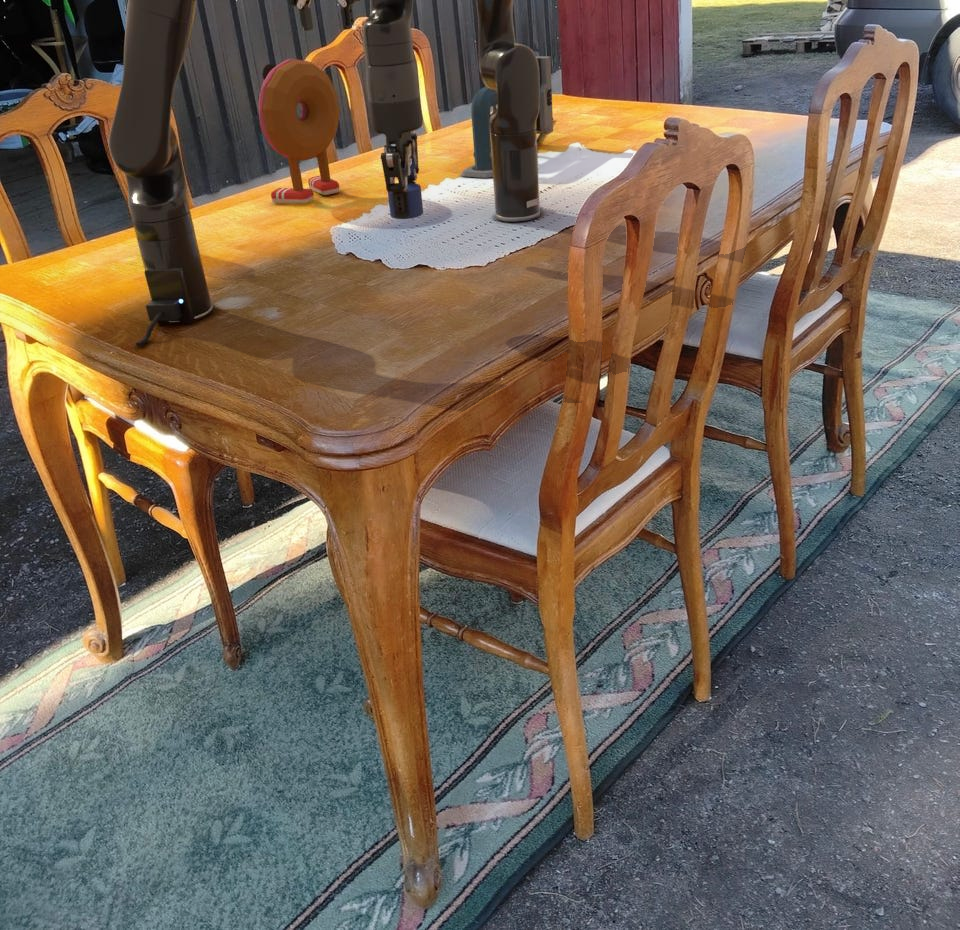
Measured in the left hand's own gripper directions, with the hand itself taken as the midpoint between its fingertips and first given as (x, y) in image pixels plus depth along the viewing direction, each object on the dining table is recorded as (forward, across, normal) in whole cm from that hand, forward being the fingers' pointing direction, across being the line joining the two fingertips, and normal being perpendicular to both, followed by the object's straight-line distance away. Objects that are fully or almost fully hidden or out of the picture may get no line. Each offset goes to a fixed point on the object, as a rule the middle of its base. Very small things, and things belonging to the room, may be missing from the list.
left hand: (406, 210), depth 149 cm
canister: (+1, 0, 0) cm, 1 cm away
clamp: (+17, +101, -2) cm, 103 cm away
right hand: (-21, +47, +23) cm, 56 cm away
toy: (+17, +73, +41) cm, 85 cm away
